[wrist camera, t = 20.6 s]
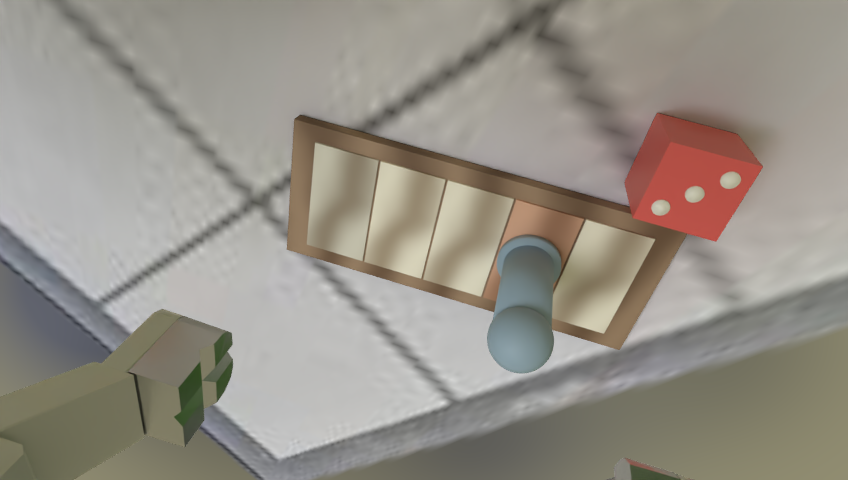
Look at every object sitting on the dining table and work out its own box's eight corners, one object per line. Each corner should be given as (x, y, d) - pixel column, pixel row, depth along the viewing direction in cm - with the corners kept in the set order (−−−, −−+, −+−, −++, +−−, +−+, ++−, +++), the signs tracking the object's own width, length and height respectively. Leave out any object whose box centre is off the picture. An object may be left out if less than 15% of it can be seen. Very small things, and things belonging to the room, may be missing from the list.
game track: (292, 243, 53) (286, 250, 52) (300, 114, 46) (293, 120, 44) (618, 341, 51) (619, 351, 50) (686, 223, 43) (689, 231, 42)
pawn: (490, 275, 48) (468, 376, 38) (508, 226, 45) (490, 321, 35) (548, 294, 48) (542, 401, 38) (570, 246, 45) (571, 348, 34)
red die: (624, 182, 42) (632, 219, 37) (657, 112, 39) (671, 142, 34) (697, 202, 42) (716, 242, 37) (737, 134, 39) (763, 167, 33)
